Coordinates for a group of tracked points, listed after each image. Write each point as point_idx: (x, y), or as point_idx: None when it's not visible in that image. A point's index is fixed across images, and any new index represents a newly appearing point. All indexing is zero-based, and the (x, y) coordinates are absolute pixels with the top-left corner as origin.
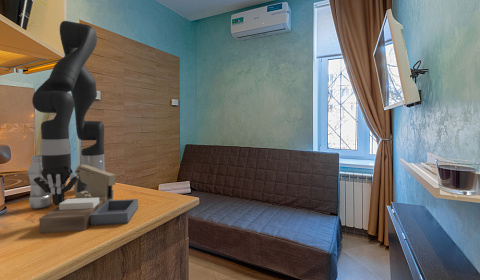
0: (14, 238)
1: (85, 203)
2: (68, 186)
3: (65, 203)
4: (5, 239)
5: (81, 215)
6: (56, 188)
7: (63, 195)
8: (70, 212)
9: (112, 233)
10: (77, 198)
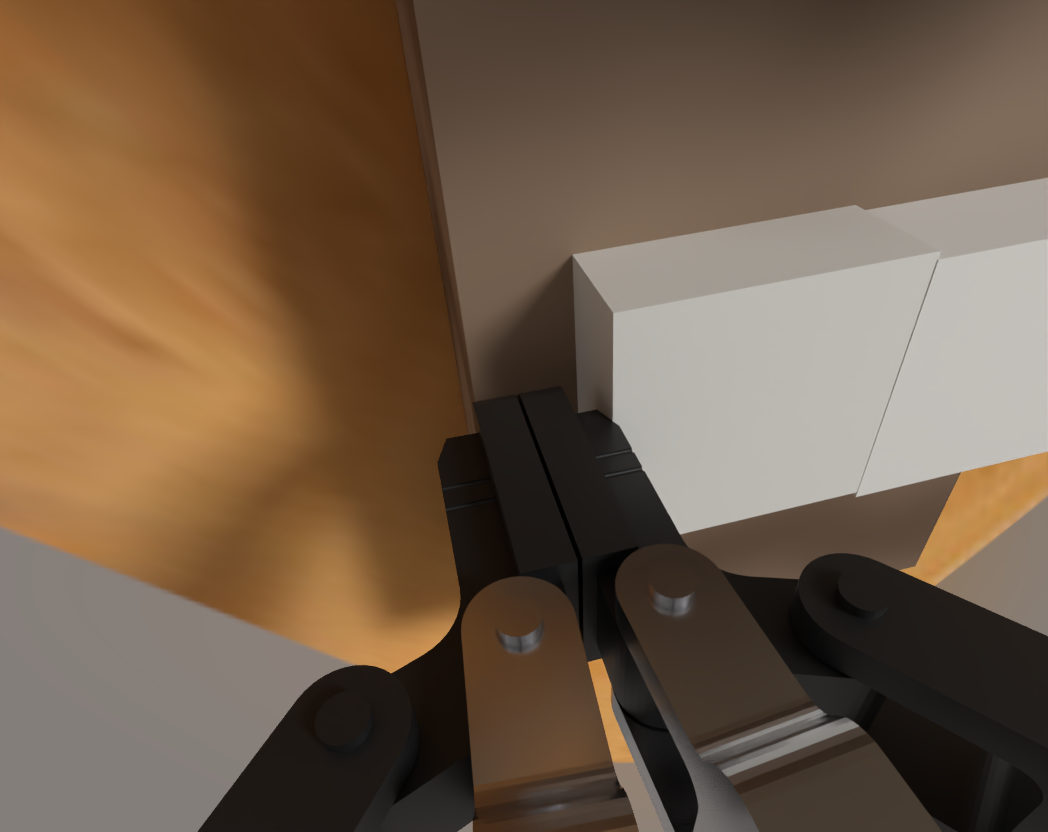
0: (345, 615)
1: (968, 458)
2: (961, 791)
3: (703, 527)
4: (286, 633)
5: (889, 562)
6: (535, 718)
7: (658, 528)
8: (760, 522)
9: (1008, 482)
10: (822, 279)
